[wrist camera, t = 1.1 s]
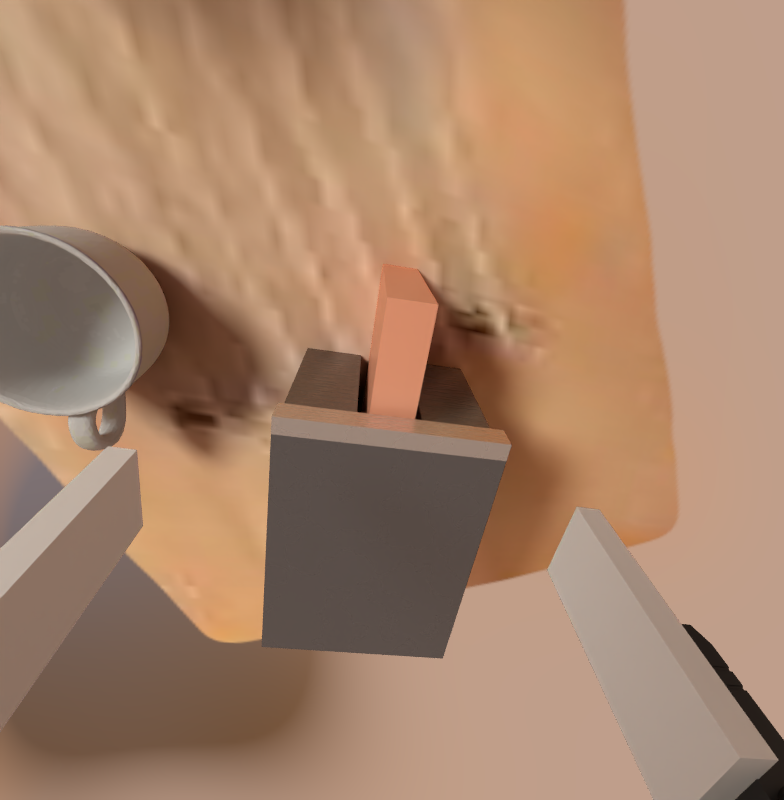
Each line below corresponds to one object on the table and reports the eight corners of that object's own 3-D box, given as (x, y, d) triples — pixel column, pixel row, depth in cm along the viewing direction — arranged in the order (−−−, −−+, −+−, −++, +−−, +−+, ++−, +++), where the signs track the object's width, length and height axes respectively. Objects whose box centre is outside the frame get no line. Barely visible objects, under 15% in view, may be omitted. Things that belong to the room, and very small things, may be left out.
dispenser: (308, 335, 32) (272, 416, 20) (463, 357, 33) (511, 444, 22) (294, 512, 39) (261, 646, 28) (422, 524, 41) (442, 658, 29)
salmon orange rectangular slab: (382, 263, 30) (387, 297, 20) (417, 269, 30) (438, 304, 21) (361, 413, 35) (356, 498, 25) (391, 416, 36) (398, 502, 26)
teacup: (11, 207, 28) (-115, 211, 21) (184, 230, 29) (122, 242, 22) (54, 399, 34) (-32, 455, 26) (197, 413, 35) (150, 470, 27)
